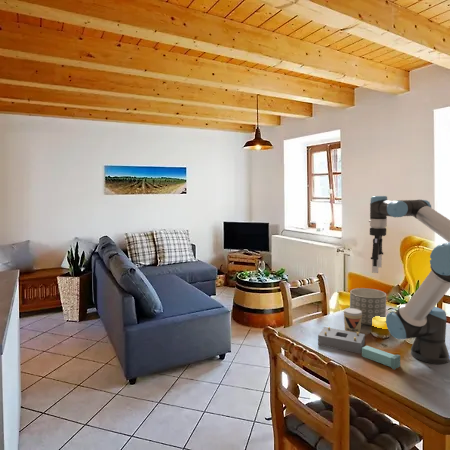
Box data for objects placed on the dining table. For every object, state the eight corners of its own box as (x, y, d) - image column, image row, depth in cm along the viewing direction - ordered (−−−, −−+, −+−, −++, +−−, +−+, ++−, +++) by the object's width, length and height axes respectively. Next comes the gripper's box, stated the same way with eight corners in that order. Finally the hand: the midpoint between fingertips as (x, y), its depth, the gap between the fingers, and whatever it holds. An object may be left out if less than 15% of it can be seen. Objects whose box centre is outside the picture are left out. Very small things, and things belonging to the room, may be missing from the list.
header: (364, 343, 177) (364, 331, 176) (360, 353, 166) (360, 340, 166) (324, 336, 186) (324, 324, 186) (318, 344, 176) (318, 332, 176)
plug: (367, 354, 166) (400, 366, 154) (361, 357, 163) (394, 369, 151) (367, 344, 166) (400, 355, 154) (361, 347, 163) (394, 358, 151)
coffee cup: (342, 334, 188) (343, 312, 187) (343, 328, 197) (344, 307, 196) (361, 337, 185) (362, 314, 184) (361, 330, 193) (362, 309, 192)
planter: (346, 317, 214) (347, 287, 212) (379, 318, 211) (380, 288, 209) (353, 329, 195) (354, 297, 193) (389, 330, 192) (391, 298, 191)
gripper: (373, 224, 187) (372, 264, 189) (366, 229, 165) (364, 274, 167) (388, 225, 183) (387, 265, 185) (383, 230, 161) (382, 276, 163)
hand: (376, 269), depth 176 cm, fingers open, 13 cm apart
